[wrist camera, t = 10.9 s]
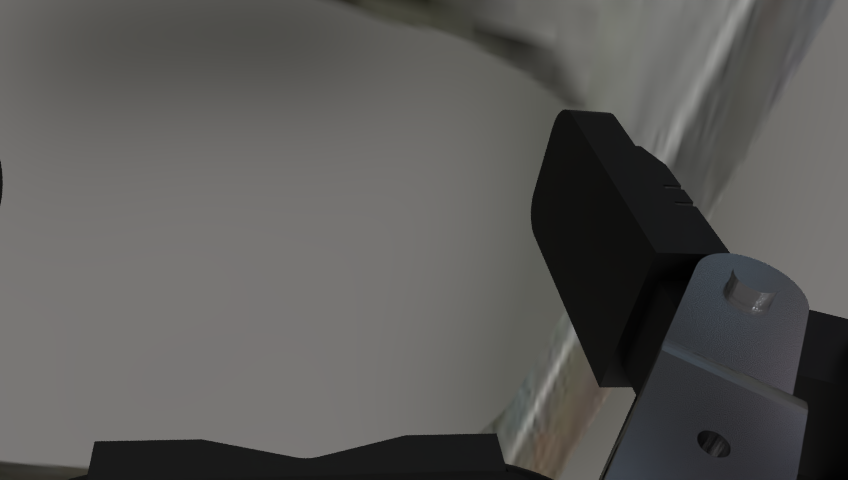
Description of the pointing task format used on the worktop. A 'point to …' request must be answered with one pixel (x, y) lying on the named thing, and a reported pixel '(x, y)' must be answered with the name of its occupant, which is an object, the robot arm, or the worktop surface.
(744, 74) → the worktop surface
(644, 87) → the worktop surface
